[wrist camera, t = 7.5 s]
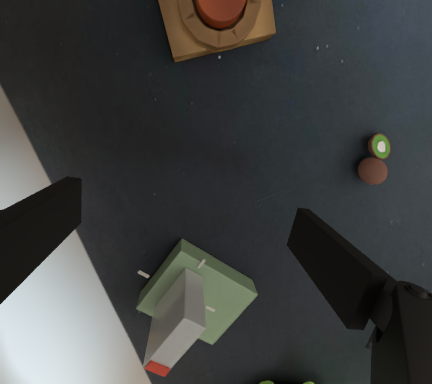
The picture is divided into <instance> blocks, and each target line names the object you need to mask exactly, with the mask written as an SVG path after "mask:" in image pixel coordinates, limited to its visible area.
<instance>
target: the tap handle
mask: <svg viewBox="0 0 432 384" xmlns="http://www.w3.org/2000/svg"><path fill="white" fill-rule="evenodd" d="M205 329H206V320H205V305H204V290H203V277H202V276H201V275H199V274H197V273H195V272H193V271H191V270H190V269H188V268H185V269H184V271H183V272H182V273H181V274H180V276H179V277H178V278H177V279H176V281H175V282H174V283H173V284H172V286H171V287H170V288H169V290H168V291H167V292H166V293H165V295H164V296H163V297H162V298H161V300H160V301H159V302H158V303H157V305H156V306H155V307H154V312H153V317H152V323H151V328H150V333H149V338H148V343H147V348H146V354H145V359H144V364H143V367H144V368H145V369H146V370H148V371H151V372H153V373H156V374H158V375H161V376H163V377H165V376H166V374H167V373H168V372H169V371H170V369H171V368H172V367H173V366H174V365H175V363H176V362H177V361H178V360H179V359H180V358H181V357H182V355H183V354H184V353H185V352H186V351H187V350H188V349H189V348H190V346H191V345H192V344H193V343H194V342H195V341H196V340H197V338H198V337H199V336H200V335H201V334H202V333H203V332H204V330H205Z"/></svg>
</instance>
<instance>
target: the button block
mask: <svg viewBox="0 0 432 384" xmlns="http://www.w3.org/2000/svg"><path fill="white" fill-rule="evenodd" d="M158 2H159V5H160V9H161V13H162V17H163V21H164V25H165V29H166V32H167V36H168V40H169V44H170V48H171V52H172V55H173V59H174V62H179V61H183V60H187V59H191V58H195V57H199V56H203V55H208V54H212V53H216V52H221V51H226V50H230V49H234V48H236V47H240V46H244V45H248V44H252V43H257V42H261V41H265V40H269V39H270V38H271V37H272V36H273V35H274V34H275V33H276V30H275V22H274V14H273V6H272V0H246V2H245V5H244V7H243V9H242V11H241V13H240V15H239V17H238V19H237V20H236V21H235V22H234V23H233V24H232V25H230V26H228V27H226V28H215V27H212V26H210V25H208V24H207V23H206V22H205V21H204V20H203V19H202V18H201V16H200V15H199V13H198V10H197V7H196V0H158Z"/></svg>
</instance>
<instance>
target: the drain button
mask: <svg viewBox="0 0 432 384" xmlns="http://www.w3.org/2000/svg"><path fill="white" fill-rule="evenodd" d="M245 2H246V0H196V7H197V10H198V13H199V15H200V16H201V18H202V19H203V20H204V21H205V22H206V23H207V24H208V25H210V26H212V27H215V28H226V27H228V26H230V25H232V24H233V23H234V22H235V21H236V20H237V19H238V17H239V15H240V13H241V11H242V9H243V7H244V5H245Z"/></svg>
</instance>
